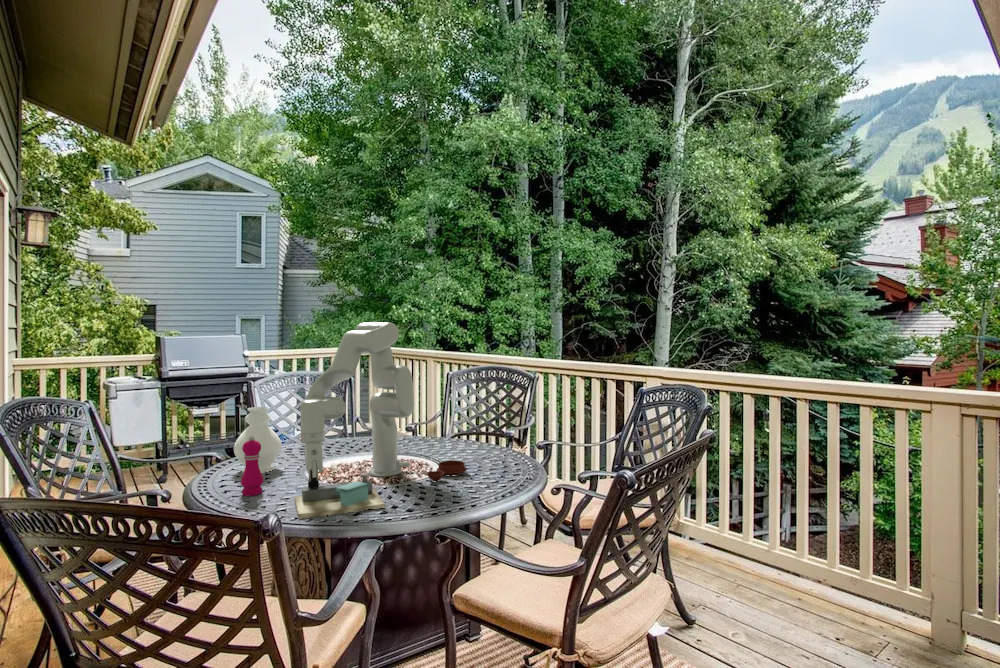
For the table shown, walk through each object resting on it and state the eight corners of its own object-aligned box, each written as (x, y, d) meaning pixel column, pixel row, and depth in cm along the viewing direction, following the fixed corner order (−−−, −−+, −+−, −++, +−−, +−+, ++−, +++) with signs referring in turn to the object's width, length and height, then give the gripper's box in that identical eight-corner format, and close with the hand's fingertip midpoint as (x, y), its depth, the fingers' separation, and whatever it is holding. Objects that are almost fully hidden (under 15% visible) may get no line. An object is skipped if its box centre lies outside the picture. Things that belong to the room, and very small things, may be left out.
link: (370, 490, 202) (370, 480, 202) (373, 494, 198) (373, 483, 197) (301, 498, 193) (301, 487, 193) (303, 502, 189) (302, 491, 188)
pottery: (472, 473, 232) (472, 461, 232) (443, 485, 214) (443, 473, 214) (447, 469, 238) (447, 458, 238) (417, 481, 220) (417, 469, 220)
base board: (373, 492, 206) (373, 469, 206) (385, 508, 187) (385, 483, 187) (294, 500, 196) (294, 477, 196) (298, 519, 178) (298, 492, 177)
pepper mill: (245, 490, 208) (244, 434, 208) (266, 490, 209) (265, 433, 209) (237, 496, 201) (237, 438, 201) (259, 496, 202) (259, 437, 201)
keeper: (357, 496, 195) (357, 481, 195) (368, 499, 192) (368, 483, 192) (336, 503, 188) (335, 487, 188) (347, 506, 185) (347, 490, 185)
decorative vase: (288, 464, 247) (287, 404, 247) (272, 475, 229) (272, 411, 229) (244, 465, 247) (244, 405, 246) (226, 476, 229) (225, 411, 229)
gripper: (326, 440, 190) (327, 497, 191) (322, 432, 204) (323, 485, 204) (302, 442, 187) (303, 500, 188) (299, 434, 201) (300, 488, 202)
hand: (313, 492), depth 196 cm, fingers closed
